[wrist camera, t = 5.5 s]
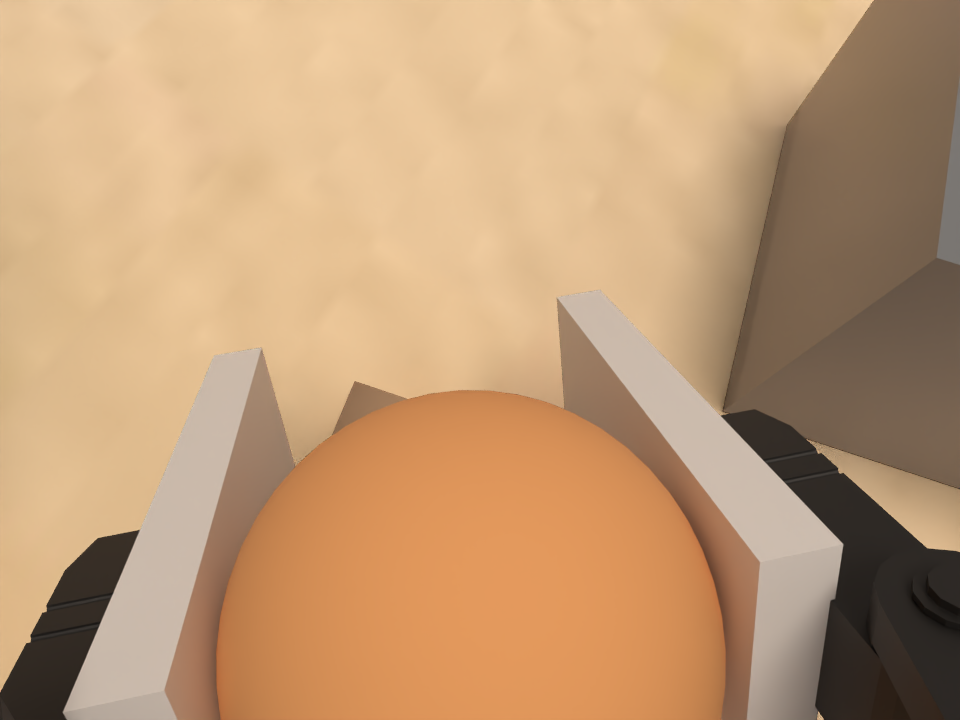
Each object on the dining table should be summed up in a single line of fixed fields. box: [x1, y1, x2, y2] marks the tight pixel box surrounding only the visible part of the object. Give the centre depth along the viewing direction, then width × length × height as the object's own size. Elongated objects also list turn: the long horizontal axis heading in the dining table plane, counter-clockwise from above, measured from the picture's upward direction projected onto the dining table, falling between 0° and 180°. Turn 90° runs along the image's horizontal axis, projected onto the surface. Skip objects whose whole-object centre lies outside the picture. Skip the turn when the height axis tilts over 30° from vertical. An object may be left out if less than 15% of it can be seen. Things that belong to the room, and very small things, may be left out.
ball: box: [216, 390, 726, 720], centre depth 7 cm, size 5×5×5 cm
